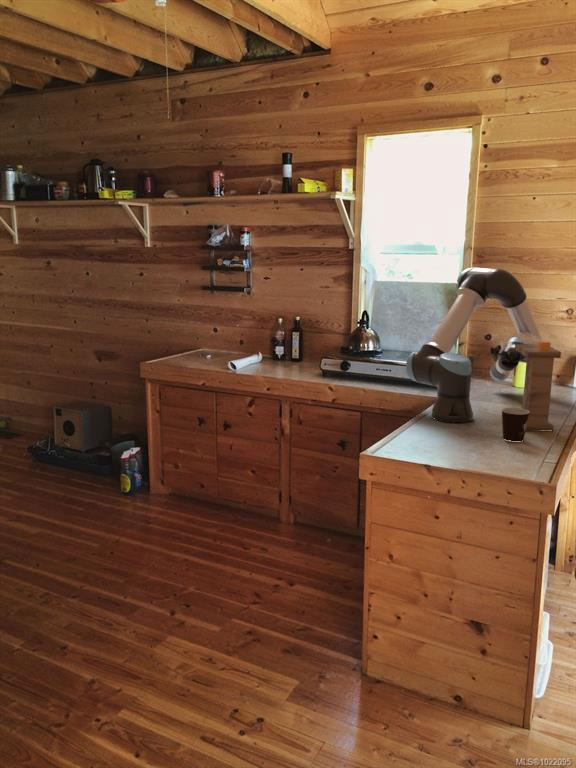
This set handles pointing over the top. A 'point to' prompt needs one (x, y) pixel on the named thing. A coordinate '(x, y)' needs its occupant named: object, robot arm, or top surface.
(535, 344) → the clear orange-capped tube
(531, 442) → the top surface
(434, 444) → the top surface
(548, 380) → the shelf post
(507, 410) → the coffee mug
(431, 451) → the top surface
